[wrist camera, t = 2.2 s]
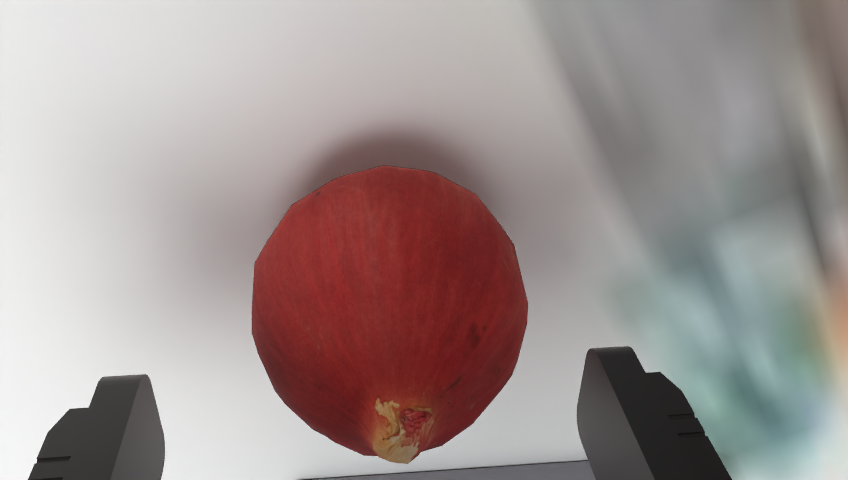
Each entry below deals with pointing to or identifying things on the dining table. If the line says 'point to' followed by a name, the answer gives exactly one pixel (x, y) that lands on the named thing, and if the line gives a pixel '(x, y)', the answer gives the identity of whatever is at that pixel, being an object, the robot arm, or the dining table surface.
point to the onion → (389, 310)
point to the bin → (496, 473)
